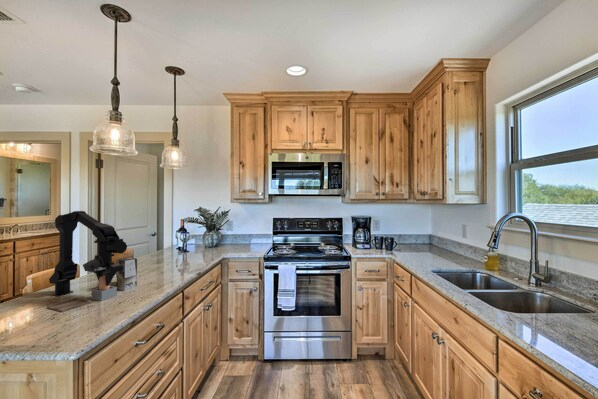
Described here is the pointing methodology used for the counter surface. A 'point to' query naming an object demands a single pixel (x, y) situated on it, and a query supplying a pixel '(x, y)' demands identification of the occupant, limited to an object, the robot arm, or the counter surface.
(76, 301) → the tray
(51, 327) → the counter surface
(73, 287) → the counter surface
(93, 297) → the open box
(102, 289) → the dowel
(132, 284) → the coffee box
